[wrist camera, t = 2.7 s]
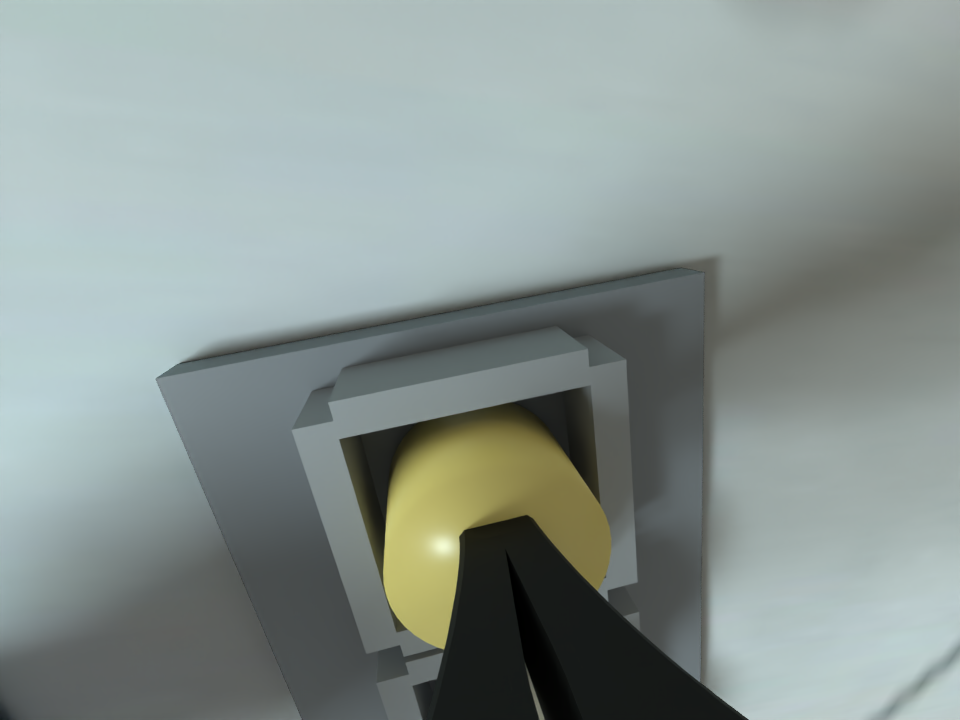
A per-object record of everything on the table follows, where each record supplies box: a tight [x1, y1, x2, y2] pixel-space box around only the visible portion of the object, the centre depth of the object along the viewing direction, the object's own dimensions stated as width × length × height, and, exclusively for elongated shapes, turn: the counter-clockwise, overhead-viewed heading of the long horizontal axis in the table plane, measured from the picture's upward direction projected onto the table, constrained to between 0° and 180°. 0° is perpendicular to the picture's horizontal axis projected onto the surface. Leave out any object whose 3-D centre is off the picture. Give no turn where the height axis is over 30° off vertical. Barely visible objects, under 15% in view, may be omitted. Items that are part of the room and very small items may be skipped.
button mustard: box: [383, 402, 611, 649], centre depth 10 cm, size 4×4×3 cm
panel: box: [156, 268, 705, 720], centre depth 14 cm, size 13×22×3 cm, turn 9°
